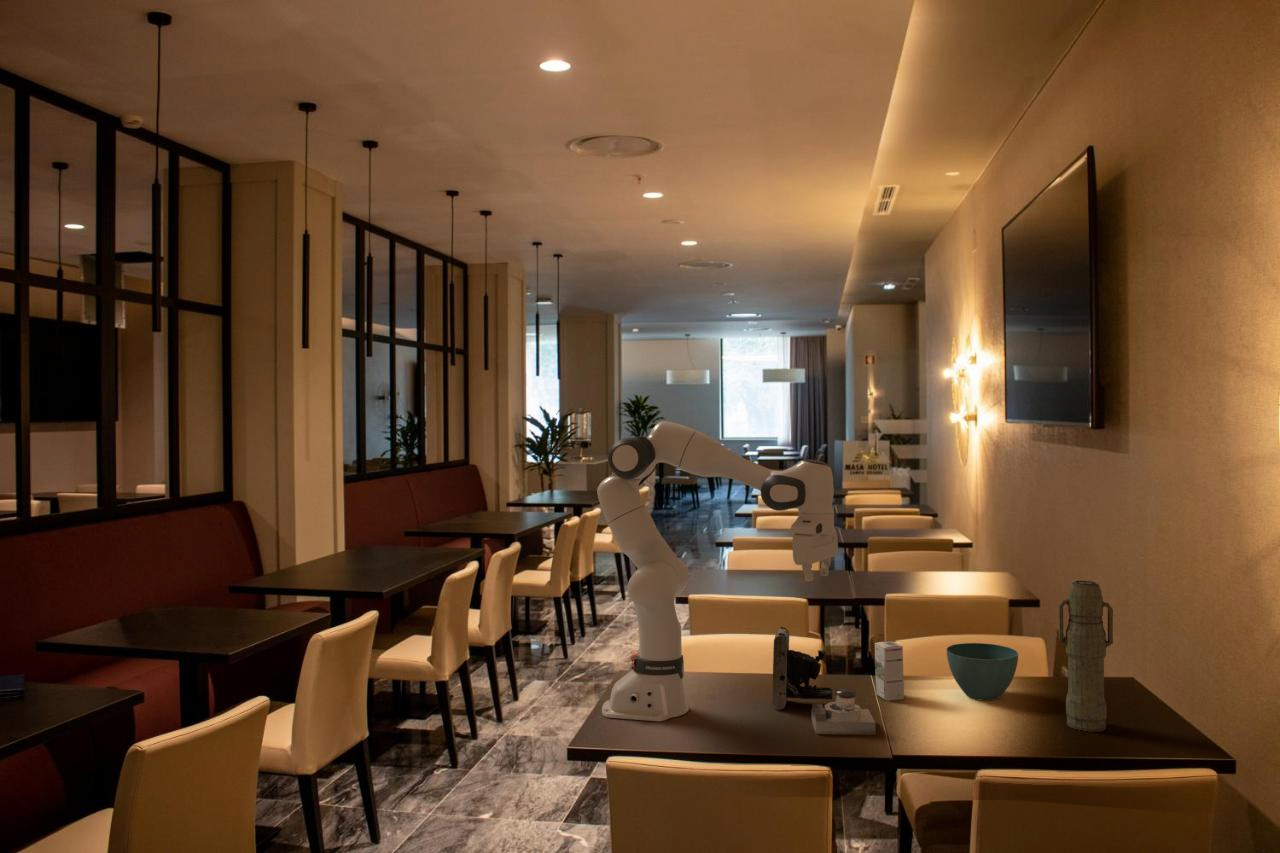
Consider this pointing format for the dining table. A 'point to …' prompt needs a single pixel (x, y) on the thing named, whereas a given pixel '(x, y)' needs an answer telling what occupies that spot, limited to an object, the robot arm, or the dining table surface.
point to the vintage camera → (794, 673)
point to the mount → (841, 720)
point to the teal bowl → (982, 668)
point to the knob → (845, 699)
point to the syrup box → (889, 670)
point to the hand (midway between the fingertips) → (816, 578)
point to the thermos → (1086, 655)
